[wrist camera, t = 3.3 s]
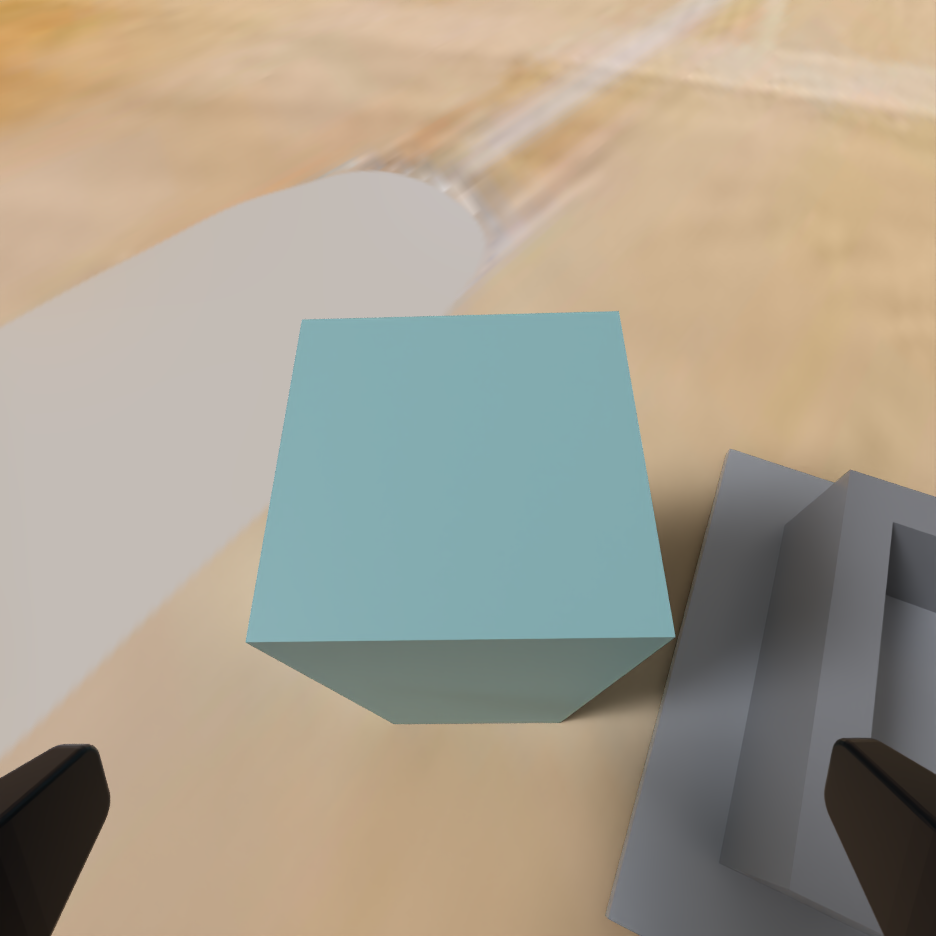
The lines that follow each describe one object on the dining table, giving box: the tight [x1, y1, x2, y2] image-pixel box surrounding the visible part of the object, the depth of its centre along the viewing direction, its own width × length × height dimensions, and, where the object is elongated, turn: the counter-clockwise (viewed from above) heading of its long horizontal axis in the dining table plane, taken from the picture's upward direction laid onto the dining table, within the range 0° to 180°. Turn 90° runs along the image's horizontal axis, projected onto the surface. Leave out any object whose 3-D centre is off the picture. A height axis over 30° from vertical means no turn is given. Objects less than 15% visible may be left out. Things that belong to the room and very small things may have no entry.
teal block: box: [246, 311, 675, 724], centre depth 13 cm, size 5×5×12 cm
